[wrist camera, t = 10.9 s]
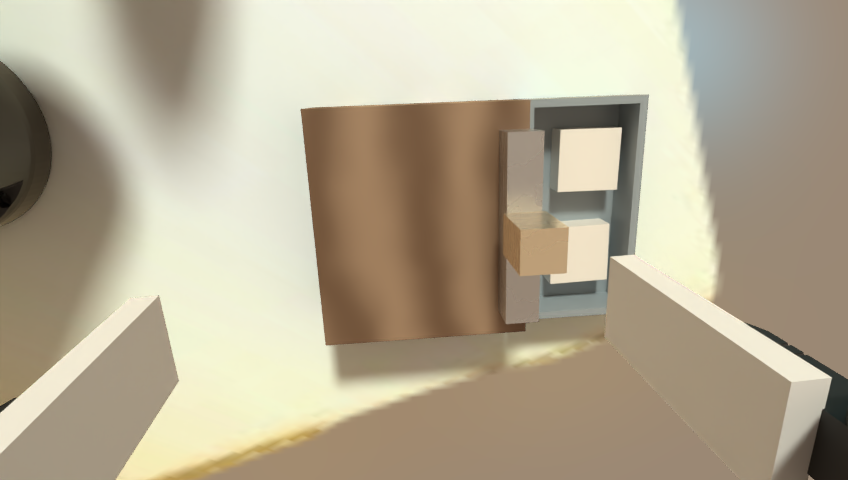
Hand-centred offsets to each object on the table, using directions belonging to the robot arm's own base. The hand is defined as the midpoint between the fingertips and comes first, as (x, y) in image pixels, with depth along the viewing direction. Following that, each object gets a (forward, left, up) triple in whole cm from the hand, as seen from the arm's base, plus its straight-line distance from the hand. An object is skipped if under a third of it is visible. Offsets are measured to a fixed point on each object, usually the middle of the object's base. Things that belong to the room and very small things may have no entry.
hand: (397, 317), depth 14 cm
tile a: (+16, -7, -25) cm, 31 cm away
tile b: (+16, +1, -25) cm, 30 cm away
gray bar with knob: (+9, -3, -22) cm, 24 cm away
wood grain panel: (+2, -3, -28) cm, 28 cm away
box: (+15, -3, -28) cm, 32 cm away
